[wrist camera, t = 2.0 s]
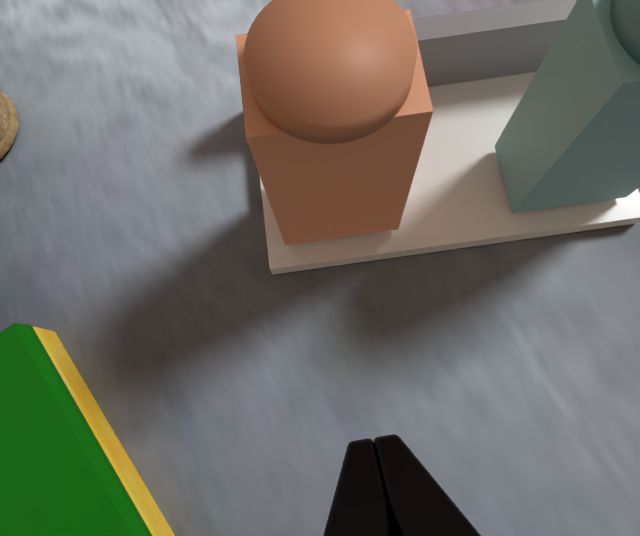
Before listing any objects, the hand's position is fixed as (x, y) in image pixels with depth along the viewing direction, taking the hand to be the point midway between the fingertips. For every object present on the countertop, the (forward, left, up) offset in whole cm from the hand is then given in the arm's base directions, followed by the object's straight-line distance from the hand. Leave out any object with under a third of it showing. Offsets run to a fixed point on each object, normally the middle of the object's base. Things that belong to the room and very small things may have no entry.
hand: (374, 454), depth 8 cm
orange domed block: (+7, -5, -9) cm, 13 cm away
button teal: (+2, -13, -9) cm, 16 cm away
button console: (+6, -10, -10) cm, 16 cm away
